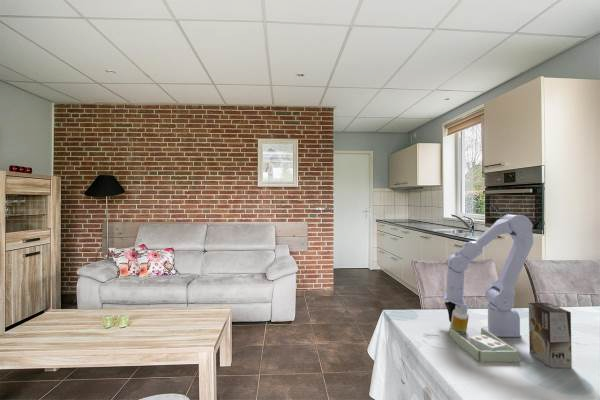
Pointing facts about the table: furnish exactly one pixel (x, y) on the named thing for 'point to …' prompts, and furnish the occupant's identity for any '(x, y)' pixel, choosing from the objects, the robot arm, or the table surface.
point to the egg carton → (487, 343)
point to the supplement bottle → (459, 320)
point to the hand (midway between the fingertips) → (453, 322)
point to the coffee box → (550, 334)
